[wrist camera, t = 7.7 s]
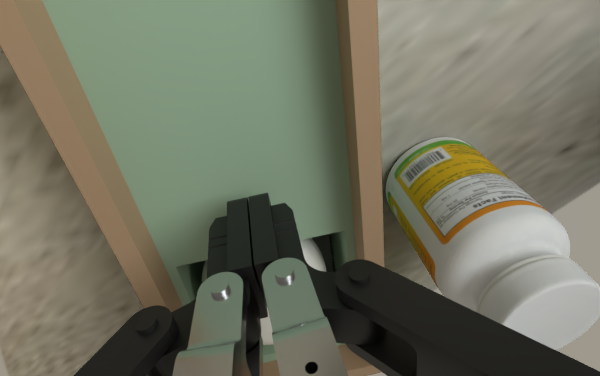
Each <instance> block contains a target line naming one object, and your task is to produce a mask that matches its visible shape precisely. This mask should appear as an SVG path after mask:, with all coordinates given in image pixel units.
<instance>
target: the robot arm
mask: <svg viewBox="0 0 600 376" xmlns="http://www.w3.org/2000/svg"><path fill="white" fill-rule="evenodd" d="M248 200H249V201H248ZM208 248H209V249H208V260H207V279H206V280H205V281H204V282H203V283H202V284H201V286H200V287H199V289H198V292H197V297H196V298H195V299H194V300H193V301H191V302H190V303H188V304H186V305H185V306H183V307H181V308H179V309H177V310H175V311H173V312H171V311H170V310H169V309H168V308H166V307H164V306H160V305H155V306H150V307H147V308H144V309H142V310H140V311H139V312H137V313H136V314H134V315H133V316H132V317H131V318H130V319H129V320H128V321H127V322H126V323H125V324H124V325H123V326H122V327H121V328H120V329H119V330H118V331H117V332H116V333H115V334H114V335H113V336H112V337H111V338H110V339H109V340H108V341H107V342H106V343H105V344H104V345H103V346H102V347H101V349H100V350H99V351H98V352H97V353H96V354H95V355H94V356H93V357H92V358H91V359H90V360H89V361H88V362H87V363H86V364H85V365H84V366H83V367H82V368H81V369H80V370H79V371H78V372H77V373H76V374H75V375H74V376H146V375H147V376H263V338H262V335H261V321H260V319H262V318H266V317H268V312H269V317H270V321H271V326H272V331H273V333H272V338H273V343H274V348H275V353H276V358H277V363H278V368H279V372H280V376H348V373H347V371H346V368H345V365H344V362H343V360H342V357H341V354H340V351H339V349H338V346H337V343H344V344H346V345H347V347H348V348H349V349H350V350H351V351H352V352H353V353H355V354H356V355H358V356H359V357H361V358H362V359H364V360H365V361H367V362H368V363H370V364H371V365H373V366H374V367H375V368H377V369H378V370H380V371H381V372H383V373H385V374H386V375H387V376H600V372H599V371H597V370H595V369H593V368H591V367H589V366H587V365H585V364H583V363H581V362H579V361H577V360H575V359H573V358H570V357H568V356H566V355H564V354H562V353H560V352H558V351H556V350H554V349H552V348H550V347H548V346H546V345H544V344H541V343H539V342H537V341H535V340H533V339H531V338H529V337H527V336H525V335H523V334H521V333H519V332H517V331H515V330H513V329H510V328H508V327H506V326H504V325H502V324H500V323H498V322H496V321H494V320H492V319H490V318H488V317H486V316H484V315H481V314H479V313H477V312H475V311H473V310H471V309H469V308H467V307H465V306H463V305H461V304H459V303H457V302H455V301H453V300H450V299H448V298H446V297H444V296H442V295H440V294H438V293H436V292H434V291H432V290H430V289H428V288H426V287H424V286H421V285H419V284H417V283H415V282H413V281H411V280H409V279H407V278H405V277H403V276H401V275H399V274H397V273H395V272H393V271H390V270H388V269H386V268H384V267H382V266H380V265H378V264H376V263H374V262H372V261H369V260H363V259H357V260H352V261H349V262H346V263H344V264H343V265H342V266H340V267H339V269H338V270H337V272H325V271H319V270H316V269H314V268H312V267H311V266H309V265H308V264H307V262H306V261H305V258H304V255H303V251H302V247H301V242H300V238H299V234H298V230H297V226H296V222H295V218H294V214H293V210H292V209H291V208H290V207H289V206H288V205H287V204H286V203H281V204H276V205H272V206H271V202H270V198H269V194H268V192H267V193H263V194H258V195H254V196H249V197H248V198H247V197H245V198H241V199H236V200H232V201H227V216H223V217H219V218H215V220H214V222H213V223H212V225H211V226H210V228H209V242H208ZM267 308H268V312H267Z"/></svg>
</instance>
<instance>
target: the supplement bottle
mask: <svg viewBox="0 0 600 376" xmlns="http://www.w3.org/2000/svg"><path fill="white" fill-rule="evenodd" d="M386 198H387V202H388V204H389V206H390V208H391V210H392V212H393V214H394V215H395V217H396V219H397V220H398V222H399V223H400V225H401V227H402V228H403V230H404V231H405V233H406V235H407V237H408V238H409V240H410V241H411V243H412V245H413V247H414V248H415V250H416V252H417V253H418V255H419V257H420V258H421V260H422V262H423V263H424V265H425V267H426V268H427V270H428V272H429V273H430V275H431V277H432V278H433V280H434V282H435V283H436V285H437V287H438V288H439V290H440V291H441V292H442V294H443V295H444V297H446V298H448V299H450V300H453V301H455V302H457V303H459V304H461V305H463V306H465V307H467V308H469V309H471V310H473V311H475V312H477V313H479V314H481V315H484V316H486V317H488V318H490V319H492V320H494V321H496V322H498V323H500V324H502V325H504V326H506V327H508V328H510V329H513V330H515V331H517V332H519V333H521V334H523V335H525V336H527V337H529V338H531V339H533V340H535V341H537V342H539V343H541V344H544V345H546V346H548V347H550V348H552V349H554V350H558V349H560V348H562V347H564V346H566V345H568V344H569V343H571V342H572V341H574V340H575V339H577V338H578V337H580V336H581V335H582V334H584V333H585V332H586V331H587V330H588V329H589V328H590V327H591V326H592V325H593V324H594V323H595V322H596V320H597V319H598V318H599V316H600V286H599V285H598V284H597V283H596V282H595V281H594V280H593V279H592V278H591V277H590V276H589V275H588V274H587V273H586V272H585V271H584V270H583V269H582V268H581V267H580V265H578V264H577V263H576V262H574V261H573V260H571V259H570V258H569V256H570V241H569V237H568V234H567V232H566V230H565V228H564V227H563V226H562V224H561V223H560V222H559V221H558V220H557V219H556V218H555V217H554V216H553V215H552V214H550V213H549V212H548V211H547V210H546V209H545V208H544V207H542V206H541V205H540V204H539V203H538V202H536V201H535V200H534V199H533V198H532V197H531V196H529V195H528V194H527V193H526V192H525V191H523V190H522V189H521V188H520V187H519V186H518V185H516V184H515V183H514V182H513V181H512V180H511V179H509V178H508V177H507V176H506V175H505V174H504V173H502V172H501V171H500V170H499V169H498V168H497V167H495V166H494V165H493V164H492V163H491V162H490V161H489V160H487V159H486V158H485V157H484V156H483V155H482V154H480V153H479V152H478V151H477V150H476V149H474V148H473V147H472V146H471V145H469V144H468V143H466V142H464V141H462V140H459V139H456V138H451V137H439V138H433V139H430V140H427V141H424V142H422V143H419V144H417V145H415V146H414V147H412V148H411V149H409V150H408V151H407V152H405V153H404V154H403V155H402V156H401V157H400V158H399V159H398V160H397V161H396V163H395V164H394V166H393V167H392V169H391V171H390V173H389V176H388V179H387V183H386Z"/></svg>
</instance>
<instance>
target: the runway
mask: <svg viewBox="0 0 600 376" xmlns="http://www.w3.org/2000/svg"><path fill="white" fill-rule="evenodd" d="M0 46H1V48H2V50H3V51H4V53H5V55H6V57H7V59H8V61H9V62H10V64H11V66H12V68H13V70H14V72H15V73H16V75H17V77H18V79H19V81H20V82H21V84H22V86H23V88H24V90H25V92H26V93H27V95H28V97H29V99H30V101H31V103H32V104H33V106H34V108H35V110H36V112H37V114H38V115H39V117H40V119H41V121H42V123H43V124H44V126H45V128H46V130H47V132H48V134H49V135H50V137H51V139H52V141H53V143H54V145H55V146H56V148H57V150H58V152H59V154H60V156H61V157H62V159H63V161H64V163H65V165H66V166H67V168H68V170H69V172H70V174H71V176H72V177H73V179H74V181H75V183H76V185H77V187H78V188H79V190H80V192H81V194H82V196H83V197H84V199H85V201H86V203H87V205H88V207H89V208H90V210H91V212H92V214H93V216H94V218H95V219H96V221H97V223H98V225H99V227H100V229H101V230H102V232H103V234H104V236H105V238H106V239H107V241H108V243H109V245H110V247H111V249H112V250H113V252H114V254H115V256H116V258H117V260H118V261H119V263H120V265H121V267H122V269H123V270H124V272H125V274H126V276H127V278H128V280H129V281H130V283H131V285H132V287H133V289H134V291H135V292H136V294H137V296H138V298H139V300H140V302H141V303H142V305H143V307H144V308H147V307H150V306H155V305H160V306H164V307H166V308H168V309H169V310H170V311H171V312H173V311H175V310H177V309H179V308H181V307H183V306H185V305H186V304H188V303H190V302H191V301H193V300H194V299H195V298H196V297H197V292H198V289H199V287H200V286H201V284H202V272H203V267H204V263H205V260H208V249H209V248H208V242H209V228H210V226H211V225H212V223H213V222H214V220H215V218H219V217H223V216H227V201H232V200H236V199H241V198H245V197H247V198H248V197H249V196H254V195H258V194H263V193H267V192H268V194H269V198H270V202H271V206H272V205H276V204H281V203H286V204H287V205H288V206H289V207H290V208H291V209H292V210H293V214H294V218H295V222H296V226H297V230H298V234H299V238H300V240H303V239H308V238H312V239H313V241H314V242H315V243H316V245H317V246H318V248H319V250H320V252H321V254H322V256H323V259H324V262H325V266H326V272H334V268H335V272H337V270H338V269H339V267H340V266H342V265H343V264H344V263H346V262H349V261H352V260H357V259H363V260H369V261H372V262H374V263H376V264H378V265H380V266H382V267H384V233H383V196H382V158H381V121H380V83H379V46H378V8H377V0H0ZM248 201H249V200H248ZM329 234H330V237H331V245H332V252H331V245H330V237H329ZM332 253H333V260H334V268H333V260H332ZM337 346H338V349H339V351H340V354H341V357H342V360H343V362H344V365H345V368H346V371H347V373H348V376H367V375H371V374H376V373H380V372H381V371H380V370H378V369H377V368H375V367H374V366H373V365H371V364H370V363H368V362H367V361H365V360H364V359H362V358H361V357H359V356H358V355H356V354H355V353H353V352H352V351H351V350H350V349H349V348H348V347H347V345H346V344H344V343H337ZM263 376H280V372H279V368H278V363H277V358H276V353H275V348H274V344H271V345H263Z"/></svg>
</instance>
